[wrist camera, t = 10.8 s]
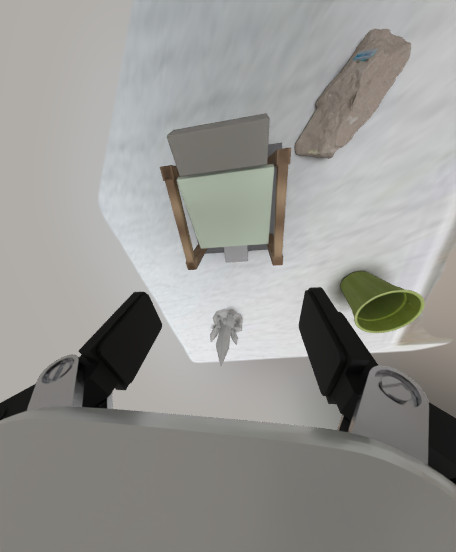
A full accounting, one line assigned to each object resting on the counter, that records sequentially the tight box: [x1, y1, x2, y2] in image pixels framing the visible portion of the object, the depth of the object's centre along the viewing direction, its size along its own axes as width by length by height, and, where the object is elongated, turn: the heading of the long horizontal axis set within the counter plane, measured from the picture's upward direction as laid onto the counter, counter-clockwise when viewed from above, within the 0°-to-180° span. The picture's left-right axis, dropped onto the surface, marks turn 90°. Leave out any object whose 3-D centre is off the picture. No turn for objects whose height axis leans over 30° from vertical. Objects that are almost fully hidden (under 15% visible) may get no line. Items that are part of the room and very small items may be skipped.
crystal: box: [210, 309, 243, 366], centre depth 47 cm, size 10×13×15 cm
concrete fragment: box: [295, 29, 411, 159], centre depth 24 cm, size 7×14×6 cm, turn 148°
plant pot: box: [340, 271, 425, 333], centre depth 37 cm, size 12×12×11 cm
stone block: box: [224, 245, 248, 262], centre depth 37 cm, size 5×5×5 cm
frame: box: [160, 148, 291, 270], centre depth 30 cm, size 16×17×13 cm
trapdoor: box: [167, 114, 274, 249], centre depth 24 cm, size 17×13×3 cm
